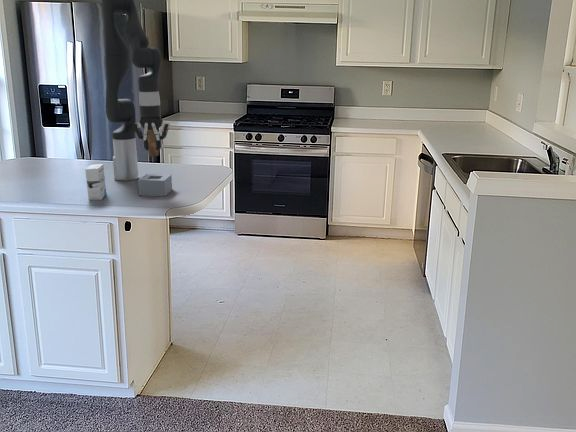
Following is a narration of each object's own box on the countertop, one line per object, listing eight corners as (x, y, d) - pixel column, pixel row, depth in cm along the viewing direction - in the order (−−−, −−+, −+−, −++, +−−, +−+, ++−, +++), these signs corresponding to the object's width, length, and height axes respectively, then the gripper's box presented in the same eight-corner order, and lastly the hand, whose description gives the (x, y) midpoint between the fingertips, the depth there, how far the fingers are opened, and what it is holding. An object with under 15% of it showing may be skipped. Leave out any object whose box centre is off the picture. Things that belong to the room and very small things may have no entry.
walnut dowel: (147, 156, 212) (145, 129, 209) (150, 154, 216) (148, 128, 213) (156, 156, 212) (154, 129, 209) (159, 154, 215) (157, 128, 212)
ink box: (93, 194, 216) (90, 163, 212) (106, 193, 216) (104, 163, 212) (87, 200, 207) (84, 168, 204) (101, 199, 208) (98, 168, 204)
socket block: (139, 195, 214) (138, 180, 212) (147, 188, 223) (146, 174, 221) (165, 196, 213) (164, 180, 211) (172, 189, 222) (171, 174, 221)
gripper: (127, 104, 205) (131, 151, 210) (165, 105, 204) (168, 152, 209) (134, 102, 212) (138, 148, 217) (171, 103, 211) (174, 148, 216)
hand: (153, 149), depth 213 cm, fingers closed on walnut dowel, 3 cm apart
